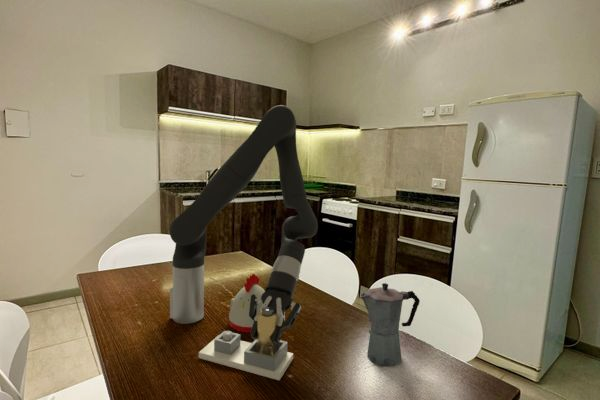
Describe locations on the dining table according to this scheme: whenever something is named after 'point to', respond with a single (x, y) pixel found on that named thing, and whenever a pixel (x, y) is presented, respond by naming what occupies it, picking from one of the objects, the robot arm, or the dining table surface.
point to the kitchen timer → (244, 305)
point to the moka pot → (386, 323)
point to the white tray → (247, 355)
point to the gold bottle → (266, 331)
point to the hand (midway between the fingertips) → (263, 340)
